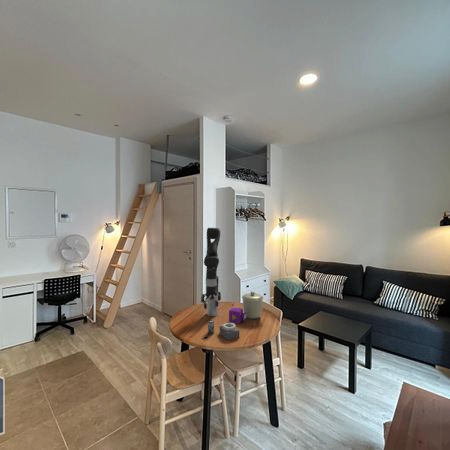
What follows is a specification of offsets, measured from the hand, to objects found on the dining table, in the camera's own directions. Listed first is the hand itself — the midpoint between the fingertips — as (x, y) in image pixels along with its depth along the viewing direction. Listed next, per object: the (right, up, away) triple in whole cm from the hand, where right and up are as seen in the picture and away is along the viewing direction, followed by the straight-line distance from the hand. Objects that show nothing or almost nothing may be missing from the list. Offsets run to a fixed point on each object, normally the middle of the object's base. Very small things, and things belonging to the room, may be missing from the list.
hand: (211, 307), depth 171 cm
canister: (+33, -19, +31) cm, 49 cm away
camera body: (+13, -18, -3) cm, 23 cm away
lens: (0, -18, 0) cm, 18 cm away
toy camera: (+20, -19, +21) cm, 35 cm away
